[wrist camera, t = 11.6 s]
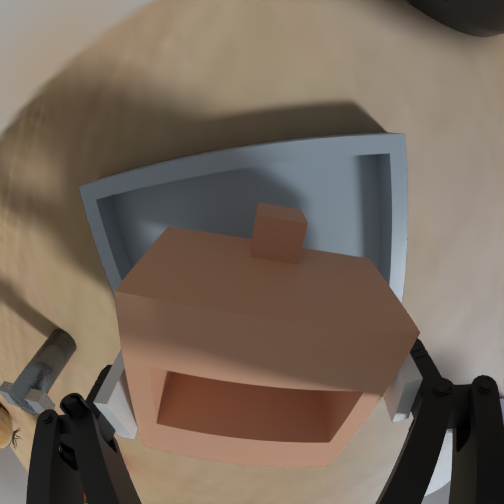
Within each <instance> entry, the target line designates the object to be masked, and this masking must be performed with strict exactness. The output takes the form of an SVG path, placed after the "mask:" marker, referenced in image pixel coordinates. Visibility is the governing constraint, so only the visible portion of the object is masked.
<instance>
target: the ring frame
mask: <svg viewBox="0 0 504 504" xmlns="http://www.w3.org/2000/svg"><path fill="white" fill-rule="evenodd" d="M307 225H308V223H307V220H306V218H305V216H304V214H303V212H302V210H301V209H295V208H289V207H284V206H278V205H272V204H266V203H260V202H258V203H257V209H256V215H255V221H254V227H253V233H252V239H247V238H241V237H234V236H228V235H222V234H215V233H209V232H202V231H196V230H189V229H183V228H176V227H169V226H168V227H167V228H166V230H165V231H164V232H163V233H162V234H161V235H160V236H159V238H158V239H157V240H156V241H155V242H154V243H153V245H152V246H151V247H150V248H149V249H148V250H147V252H146V253H145V254H144V255H143V256H142V258H141V259H140V260H139V261H138V262H137V264H136V265H135V266H134V267H133V268H132V270H131V271H130V272H129V273H128V275H127V276H126V277H125V278H124V279H123V281H122V282H121V283H120V284H119V286H118V287H117V288H116V290H115V300H116V310H117V319H118V327H119V334H120V341H121V348H122V354H123V360H124V366H125V372H126V377H127V382H128V387H129V392H130V396H131V401H132V405H133V410H134V414H135V418H136V422H137V426H138V430H139V434H140V437H141V441H142V444H143V446H144V447H148V448H152V449H156V450H160V451H164V452H168V453H173V454H177V455H182V456H188V457H193V458H199V459H205V460H211V461H218V462H225V463H234V464H243V465H255V466H270V467H328V466H329V465H330V464H331V462H332V461H333V460H334V459H335V458H336V457H337V455H338V454H339V453H340V452H341V451H342V449H343V448H344V447H345V446H346V445H347V443H348V442H349V441H350V440H351V438H352V437H353V436H354V435H355V433H356V432H357V431H358V429H359V428H360V427H361V425H362V424H363V423H364V421H365V420H366V419H367V417H368V416H369V415H370V413H371V412H372V410H373V409H374V408H375V406H376V405H377V403H378V402H379V400H380V399H381V397H382V396H383V394H384V393H385V391H386V390H387V388H388V387H389V385H390V384H391V382H392V381H393V379H394V377H395V376H396V374H397V373H398V371H399V369H400V368H401V366H402V364H403V363H404V361H405V359H406V357H407V356H408V354H409V352H410V350H411V349H412V347H413V345H414V343H415V341H416V339H417V338H418V336H419V334H420V331H419V330H418V328H417V327H416V325H415V323H414V322H413V320H412V319H411V317H410V316H409V314H408V313H407V311H406V310H405V308H404V307H403V305H402V304H401V302H400V301H399V299H398V298H397V296H396V295H395V294H394V292H393V291H392V289H391V288H390V286H389V285H388V284H387V282H386V281H385V279H384V278H383V276H382V275H381V274H380V272H379V271H378V270H377V268H376V267H375V265H374V264H373V263H372V261H371V260H370V259H368V258H362V257H356V256H351V255H345V254H339V253H333V252H327V251H321V250H315V249H309V248H303V247H302V246H303V242H304V238H305V233H306V229H307Z"/></svg>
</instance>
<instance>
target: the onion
mask: <svg viewBox="0 0 504 504" xmlns="http://www.w3.org/2000/svg"><path fill="white" fill-rule="evenodd" d="M12 425H13V424H12V421H11V418H10V416H9V414H8V413H7V411H6V410H5V409H4V408H3V407H2V406H0V449H2V448H4V447H6V446H7V445H8V444H9V443H10V444H11V442H10V441H12V442H13V443H14V440H15V439H19V438H15V437H14V436H17V435H15V434H16V433H17V432H18V431H20V430H21V429H20V430H18V429H19V428H18V429H17V430H16V431H17V432H16V431H14V432H13V426H12ZM13 433H14V434H13ZM17 437H19V436H17ZM14 438H15V439H14ZM13 439H14V440H13ZM16 441H17V440H16ZM16 441H15V442H16ZM14 444H15V443H14ZM14 444H13V446H15V445H14ZM16 445H17V444H16ZM17 447H18V446H17ZM14 448H16V447H14ZM15 450H16V449H15Z"/></svg>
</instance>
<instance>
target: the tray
mask: <svg viewBox="0 0 504 504" xmlns="http://www.w3.org/2000/svg"><path fill="white" fill-rule="evenodd" d="M79 190H80V194H81V198H82V202H83V205H84V209H85V212H86V216H87V219H88V223H89V226H90V229H91V232H92V236H93V239H94V242H95V245H96V248H97V251H98V254H99V257H100V259H101V262H102V265H103V268H104V271H105V273H106V276H107V279H108V281H109V284H110V286H111V289H112V292H113V294H114V297H115V290H116V288H117V287H118V286H119V284H120V283H121V282H122V281H123V279H124V278H125V277H126V276H127V275H128V273H129V272H130V271H131V270H132V268H133V267H134V266H135V265H136V264H137V262H138V261H139V260H140V259H141V258H142V256H143V255H144V254H145V253H146V252H147V250H148V249H149V248H150V247H151V246H152V245H153V243H154V242H155V241H156V240H157V239H158V238H159V236H160V235H161V234H162V233H163V232H164V231H165V230H166V228H167V227H168V226H169V227H176V228H183V229H189V230H196V231H202V232H209V233H215V234H222V235H228V236H234V237H241V238H247V239H252V233H253V227H254V221H255V215H256V209H257V203H258V202H260V203H266V204H272V205H278V206H284V207H289V208H295V209H301V210H302V212H303V214H304V216H305V218H306V220H307V223H308V225H307V229H306V233H305V238H304V242H303V246H302V247H303V248H309V249H315V250H321V251H327V252H333V253H339V254H345V255H351V256H356V257H362V258H368V259H370V260H371V261H372V263H373V264H374V265H375V267H376V268H377V270H378V271H379V272H380V274H381V275H382V276H383V278H384V279H385V281H386V282H387V284H388V285H389V286H390V288H391V289H392V291H393V292H394V294H395V295H396V296H397V298H398V299H399V301H400V302H401V304H402V295H403V286H404V276H405V264H406V249H407V226H408V180H407V157H406V142H405V134H400V133H390V132H379V133H357V134H341V135H328V136H316V137H306V138H297V139H288V140H280V141H272V142H265V143H258V144H251V145H245V146H239V147H233V148H227V149H221V150H216V151H210V152H205V153H200V154H195V155H190V156H185V157H181V158H176V159H172V160H167V161H163V162H159V163H155V164H151V165H147V166H143V167H139V168H135V169H131V170H127V171H124V172H120V173H116V174H113V175H109V176H106V177H103V178H99V179H97V180H94V181H92V182H89V183H87V184H84V185H82V186H80V187H79Z"/></svg>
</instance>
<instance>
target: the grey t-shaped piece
mask: <svg viewBox="0 0 504 504" xmlns="http://www.w3.org/2000/svg"><path fill="white" fill-rule="evenodd" d="M75 350H76V344H75V342H74V340H73V338H72V337H71V336H70V335H69V334H68V333H66V332H65V331H63V330H60V329H56V330H54V331H53V333H52V334H51V335H50V336H49V338H48V339H47V340H46V341H45V343H44V344H43V345H42V346H41V348H40V349H39V350H38V351H37V353H36V354H35V355H34V357H33V358H32V359H31V361H30V362H29V363H28V365H27V366H26V367H25V369H24V370H23V371H22V373H21V374H20V375H19V377H18V378H17V380H16V381H15V382H14V384H13V383H10V382H6V381H4V382H3V383H2V385H1V386H0V393H1V395H2V396H3V397H4V398H5V400H6V401H7V402H8V403H10V404H13V405H15V406H18V407H20V408H21V409H23V410H24V411H25V412H27V413H29V414H32V415H34V414H35V413H39V414H41V413H42V412H43V411H45V410H47V409H54V408H55V406H56V405H55V404H54V403H53V402H52V400H51V399H50V398H49V396H48V395H47V393H48V392H49V390H50V388H51V387H52V385H53V384H54V382H55V381H56V379H57V377H58V376H59V374H60V373H61V371H62V370H63V368H64V367H65V365H66V364H67V362H68V361H69V359H70V358H71V356H72V355H73V353H74V352H75Z"/></svg>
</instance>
